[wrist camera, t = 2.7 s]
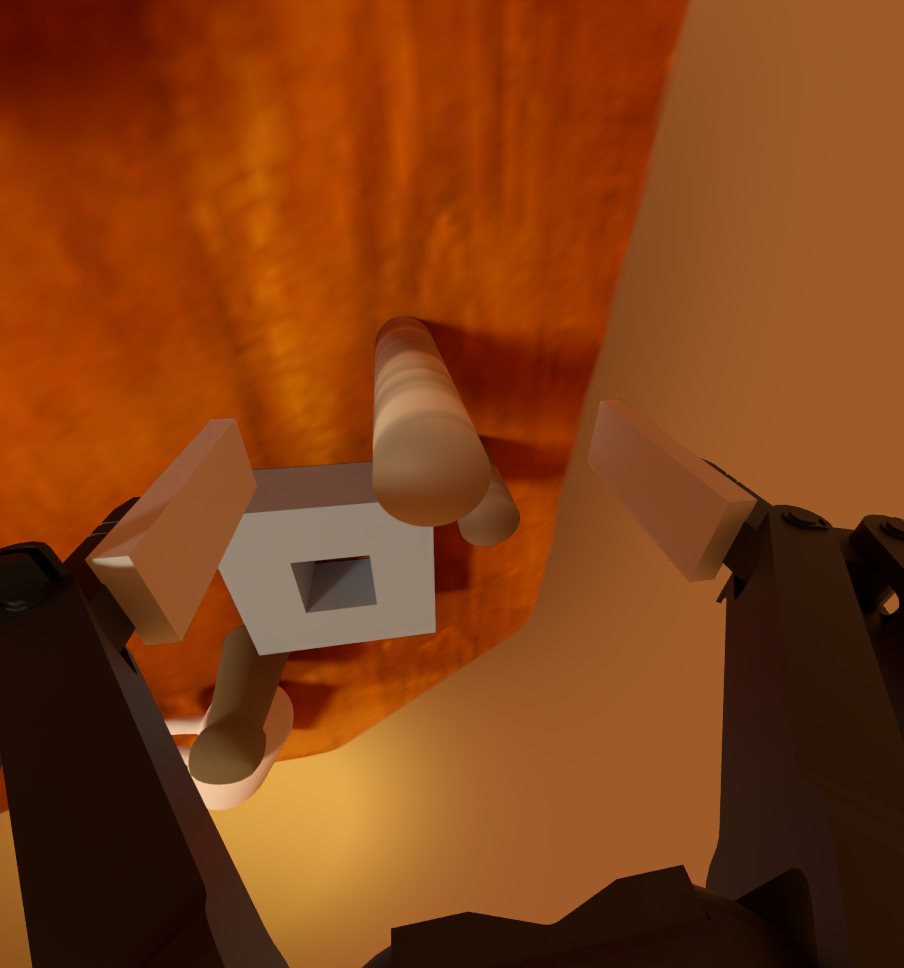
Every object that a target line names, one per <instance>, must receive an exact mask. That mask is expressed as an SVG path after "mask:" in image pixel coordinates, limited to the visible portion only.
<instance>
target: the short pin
mask: <svg viewBox="0 0 904 968" xmlns="http://www.w3.org/2000/svg"><path fill="white" fill-rule="evenodd" d="M478 437H479V436H478ZM479 439H480V441H481V443H482V445H483V447H484V450H485V452H486V454H487V456H488V458H489V462H490V466H491V481H490V485H489V488H488V491H487V493H486V495H485V497H484V498H483V500H482V501H481V502H480V504H479V505H478V506H477V507H476V508H475V509H474V510H473V511H471V512H470V513H469V514H468V515H466V516H464V517H463V518H461V519H459V520H457V522H458V526H459V530H460V533H461V535H462V537H463V538H464V539H465V540H466V541H467V542H469V543H471V544H473V545H476V546H492V545H496V544H499V543H501V542H503V541H505V540H506V539H508V538H509V537H510V536H511V535H512V534H513V533H514V532H515V531H516V529H517V527H518V525H519V521H520V514H519V511H518V509H517V507H516V505H515V503H514V501H513V499H512V497H511V495H510V492H509V490H508V488H507V486H506V484H505V482H504V480H503V478H502V476H501V474H500V472H499V470H498V468H497V466H496V463H495V461H494V459H493V457H492V455H491V453H490V451H489V449H488V447H487V445H486V443H485V441H484V440H483V439H482V438H480V437H479Z"/></svg>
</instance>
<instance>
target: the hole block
mask: <svg viewBox="0 0 904 968" xmlns="http://www.w3.org/2000/svg"><path fill="white" fill-rule="evenodd" d="M252 471H253V474H254V477H255V480H256V483H257V488H256V490H255V492H254V494H253V496H252V498H251V500H250V502H249V504H248V506H247V508H246V510H245V512H244V514H243V516H242V519H241V521H240V523H239V525H238V527H237V529H236V531H235V533H234V535H233V537H232V539H231V541H230V543H229V545H228V547H227V549H226V551H225V553H224V555H223V557H222V560H221V562H220V564H219V566H218V568H219V571H220V573H221V575H222V577H223V579H224V581H225V583H226V585H227V588H228V590H229V592H230V594H231V596H232V598H233V600H234V602H235V605H236V607H237V609H238V611H239V613H240V615H241V617H242V619H243V622H244V624H245V626H246V628H247V630H248V632H249V634H250V636H251V639H252V641H253V643H254V645H255V647H256V649H257V651H258V653H259V655H267V654H274V653H282V652H290V651H297V650H305V649H312V648H320V647H328V646H335V645H343V644H350V643H358V642H365V641H373V640H381V639H388V638H396V637H403V636H411V635H418V634H426V633H434V632H436V630H435V583H434V537H433V527H420V526H414V525H410V524H406V523H404V522H401V521H399V520H397V519H395V518H394V517H392V516H391V515H389V514H388V513H387V512H386V511H385V510H384V509H383V508H382V506H381V505H380V504H379V502H378V500H377V499H376V496H375V494H374V490H373V482H372V473H373V462H362V463H347V464H333V465H319V466H305V467H290V468H276V469H262V470H252ZM365 555H370V558H368V559H358V560H349V561H339V562H329V563H320V564H315V562H314V561H317V560H326V559H336V558H346V557H356V556H365Z"/></svg>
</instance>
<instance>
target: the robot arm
mask: <svg viewBox="0 0 904 968" xmlns="http://www.w3.org/2000/svg"><path fill="white" fill-rule="evenodd" d="M586 463H587V464H588V466H589V467H590V468H591V469H592V470H593V471H594V473H595V474H596V475H597V476H598V477H599V478H600V479H601V481H602V482H603V483H604V484H605V485H606V486H607V488H608V489H609V490H610V491H611V492H612V493H613V495H614V496H615V497H616V498H617V499H618V500H619V501H620V503H621V504H622V505H623V506H624V507H625V508H626V510H627V511H628V512H629V513H630V514H631V515H632V516H633V518H634V519H635V520H636V521H637V522H638V524H639V525H640V526H641V527H642V528H643V529H644V530H645V532H646V533H647V534H648V535H649V536H650V537H651V538H652V540H653V541H654V542H655V543H656V544H657V546H658V547H659V548H660V549H661V550H662V551H663V553H664V554H665V555H666V556H667V557H668V558H669V559H670V561H671V562H672V563H673V564H674V565H675V566H676V568H677V569H678V570H679V571H680V572H681V573H682V575H683V576H684V577H685V578H686V579H687V580H688V581H689V582H695V581H703V580H712V579H714V578H715V576H716V575H717V573H718V571H719V569H720V567H721V566H722V564H723V563H724V564H725V565H726V566H727V567H728V568H729V569H730V570H731V571H732V574H731V576H730V578H729V580H728V581H727V583H726V584H725V586H724V588H723V590H722V591H721V593H720V595H719V597H718V599H717V601H716V602H719V603H721V602H722V600H723V599H724V598H727V602H726V634H725V667H724V700H723V702H724V703H723V732H722V736H723V737H722V765H721V800H720V802H721V803H720V830H719V839H718V844H717V848H716V851H715V853H714V856H713V859H712V861H711V864H710V867H709V872H708V876H707V880H706V888H703V887H700V886H697V885H694V884H692V882H691V880H690V878H689V876H688V874H687V872H686V870H685V868H684V866H683V865H680V866H675V867H670V868H666V869H661V870H657V871H652V872H647V873H643V874H639V875H634V876H629V877H625V878H620V879H616V880H615V881H614V882H612V883H611V884H610V885H608V886H607V887H606V888H604V889H603V890H601V891H600V892H599V893H597V894H596V895H594V896H593V897H592V898H590V899H589V900H587V901H586V902H585V903H583V904H582V905H580V906H579V907H578V908H576V909H575V910H574V911H572V912H571V913H569V914H568V915H567V916H565V917H564V918H563V919H561V920H560V921H558V922H556V923H554V924H551V925H543V924H537V923H531V922H525V921H519V920H513V919H507V918H502V917H496V916H490V915H484V914H478V913H472V912H465V913H460V914H455V915H451V916H446V917H442V918H437V919H433V920H428V921H423V922H419V923H415V924H410V925H405V926H401V927H397V928H392V929H391V946H389V947H388V948H386V949H385V950H383V951H382V952H380V953H379V954H377V955H376V956H374V957H373V958H372V959H371V960H370V961H369V962H368V963H367V964H365V965H364V966H363V967H362V968H904V521H903V519H900V518H896V517H894V518H892V517H888V516H884V515H868V516H865V517H864V518H863V519H862V521H861V522H860V523H859V525H858V526H857V527H856V529H855V530H849V529H841V528H833V527H832V525H831V524H830V523H829V522H828V521H826V520H825V519H824V518H822V517H821V516H819V515H816V514H815V513H813V512H811V511H808V510H805V509H802V508H799V507H795V506H790V505H775V506H772V505H771V504H769V503H768V502H766V501H765V500H764V499H762V498H761V497H759V496H758V495H756V494H755V493H754V492H752V491H751V490H749V489H748V488H747V487H745V486H744V485H743V484H741V483H740V482H736V479H734V478H733V477H731V476H730V475H726V472H724V471H723V470H722V469H720V468H719V467H717V466H716V465H715V464H713V463H711V462H708V461H706V460H704V459H702V458H699V457H698V456H696V455H695V454H694V453H693V452H691V451H690V450H688V449H687V448H686V447H684V446H683V445H681V444H680V443H679V442H677V441H676V440H675V439H673V438H672V437H670V436H669V435H668V434H666V433H665V432H663V431H662V430H661V429H659V428H658V427H657V426H655V425H654V424H653V423H651V422H650V421H648V420H647V419H646V418H644V417H643V416H642V415H640V414H639V413H637V412H636V411H635V410H633V409H632V408H631V407H629V406H628V405H626V404H625V403H624V402H622V401H621V400H620V399H617V400H616V399H615V400H601V401H600V405H599V410H598V413H597V418H596V422H595V427H594V431H593V435H592V439H591V443H590V448H589V452H588V456H587V460H586ZM256 488H257V483H256V480H255V477H254V474H253V471H252V468H251V465H250V462H249V459H248V455H247V452H246V449H245V446H244V443H243V440H242V437H241V434H240V431H239V428H238V425H237V422H236V419H235V418H228V419H211V420H210V421H209V422H208V423H207V424H206V426H205V427H204V428H203V429H202V430H201V431H200V432H199V433H198V435H197V436H196V437H195V438H194V439H193V440H192V441H191V442H190V443H189V445H188V446H187V447H186V448H185V449H184V450H183V451H182V452H181V453H180V455H179V456H178V457H177V458H176V459H175V460H174V461H173V462H172V463H171V465H170V466H169V467H168V468H167V469H166V470H165V471H164V472H163V473H162V475H161V476H160V477H159V478H158V479H157V480H156V481H155V482H154V483H153V485H152V486H151V487H150V488H149V489H148V490H147V491H146V492H145V493H144V495H143V496H142V497H133V498H132V499H130V500H129V501H127V502H125V503H124V504H122V505H121V506H119V507H117V508H116V509H114V510H113V511H112V512H111V513H110V514H109V515H108V517H107V518H106V519H105V520H104V521H103V522H102V525H99V526H98V527H97V528H96V529H95V530H94V531H93V532H92V533H91V537H87V538H86V540H85V541H84V542H83V543H82V544H81V545H80V546H79V547H78V548H77V549H76V550H75V551H74V552H73V553H72V554H71V555H70V556H69V557H68V558H67V559H66V560H65V562H64V563H62V562H61V561H60V559H59V558H58V557H57V555H56V554H55V553H54V551H53V550H52V549H51V547H49V546H48V545H47V544H46V543H43V542H34V541H32V542H25V543H18V544H14V545H11V546H7V547H4V548H1V549H0V769H1V764H2V765H3V772H4V779H5V786H6V792H7V799H8V806H9V812H10V819H11V826H12V833H13V840H14V846H15V853H16V860H17V866H18V873H19V880H20V887H21V894H22V900H23V906H24V913H25V921H26V927H27V934H28V941H29V947H30V954H31V961H32V968H289V966H288V964H287V963H286V961H285V959H284V958H283V956H282V955H281V953H280V952H279V950H278V949H277V947H276V946H275V945H274V943H273V941H272V939H271V938H270V936H269V934H268V932H267V930H266V929H265V927H264V925H263V923H262V921H261V919H260V917H259V914H258V912H257V910H256V908H255V906H254V904H253V902H252V900H251V898H250V896H249V894H248V892H247V890H246V888H245V886H244V884H243V882H242V880H241V877H240V875H239V873H238V871H237V869H236V867H235V865H234V863H233V861H232V859H231V857H230V855H229V853H228V851H227V849H226V847H225V845H224V842H223V841H222V839H221V836H220V834H219V832H218V830H217V828H216V826H215V824H214V822H213V820H212V818H211V816H210V814H209V812H208V810H207V808H206V805H205V803H204V801H203V799H202V797H201V795H200V793H199V791H198V789H197V787H196V785H195V783H194V781H193V779H192V777H191V775H190V773H189V771H188V768H187V766H186V764H185V762H184V760H183V758H182V756H181V754H180V752H179V750H178V748H177V746H176V744H175V742H174V740H173V738H172V736H171V734H170V731H169V729H168V727H167V725H166V723H165V721H164V719H163V717H162V715H161V713H160V711H159V709H158V707H157V705H156V703H155V701H154V699H153V697H152V694H151V692H150V690H149V688H148V686H147V684H146V682H145V680H144V678H143V676H142V674H141V672H140V670H139V668H138V666H137V664H136V662H135V660H134V657H133V655H132V654H131V652H130V651H129V650H128V648H127V647H126V646H125V645H126V643H127V642H128V640H129V638H130V637H131V635H132V633H133V632H134V630H135V631H136V632H137V634H138V635H139V636H140V638H141V639H142V641H143V642H144V643H145V645H146V646H147V645H155V644H164V643H172V642H181V641H182V639H183V637H184V635H185V633H186V631H187V629H188V627H189V625H190V623H191V621H192V619H193V617H194V615H195V613H196V611H197V609H198V607H199V605H200V603H201V601H202V598H203V596H204V594H205V592H206V590H207V588H208V586H209V584H210V582H211V580H212V578H213V576H214V574H215V572H216V570H217V568H218V566H219V564H220V562H221V560H222V557H223V555H224V553H225V551H226V549H227V547H228V545H229V543H230V541H231V539H232V537H233V535H234V533H235V531H236V529H237V527H238V525H239V523H240V521H241V519H242V516H243V514H244V512H245V510H246V508H247V506H248V504H249V502H250V500H251V498H252V496H253V494H254V492H255V490H256ZM894 593H896V594H897V596H898V598H899V604H900V605H899V608H898V609H897V610H896V611H895V612H894V613H892V614H889V613H888V611H887V610H886V609H885V607H884V606H883V605H884V604H885V603H886V602H887V601H888V600H889V599H890V597H892V595H893V594H894Z"/></svg>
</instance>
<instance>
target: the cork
mask: <svg viewBox="0 0 904 968" xmlns="http://www.w3.org/2000/svg"><path fill="white" fill-rule="evenodd" d="M289 654H290V652H282V653H274V654H267V655H259V653H258V651H257V649H256V647H255V645H254V643H253V641H252V639H251V636H250V634H249V632H248V630H247V628H246V626H241V627H239V628H236V629H234V630H233V631H231V632H230V633H229V634H228V635H227V637H226V638H225V640H224V645H223V650H222V655H221V660H220V665H219V670H218V675H217V680H216V685H215V690H214V695H213V700H212V705H211V710H210V715H209V720H208V724H207V727H206V728H205V729H204V730H203V731H201V732H200V734H199V736H198V737H197V739H196V741H195V742H194V744H193V746H192V748H191V751H190V753H189V760H188V765H189V770H190V774H191V775H192V776H193V777H194V778H195V779H196V780H198V781H200V782H202V783H206V784H213V785H224V784H231V783H236V782H239V781H242V780H244V779H246V778H247V777H249V776H251V775H252V774H253V773H254V772H255V770H256V769H257V768H258V766H259V765H260V764H261V762H262V759H263V757H264V754H265V749H266V734H265V732H264V730H263V727H264V724H265V721H266V718H267V715H268V713H269V710H270V707H271V704H272V701H273V699H274V696H275V693H276V690H277V687H278V685H279V682H280V679H281V676H282V673H283V671H284V668H285V665H286V662H287V659H288V657H289Z"/></svg>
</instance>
